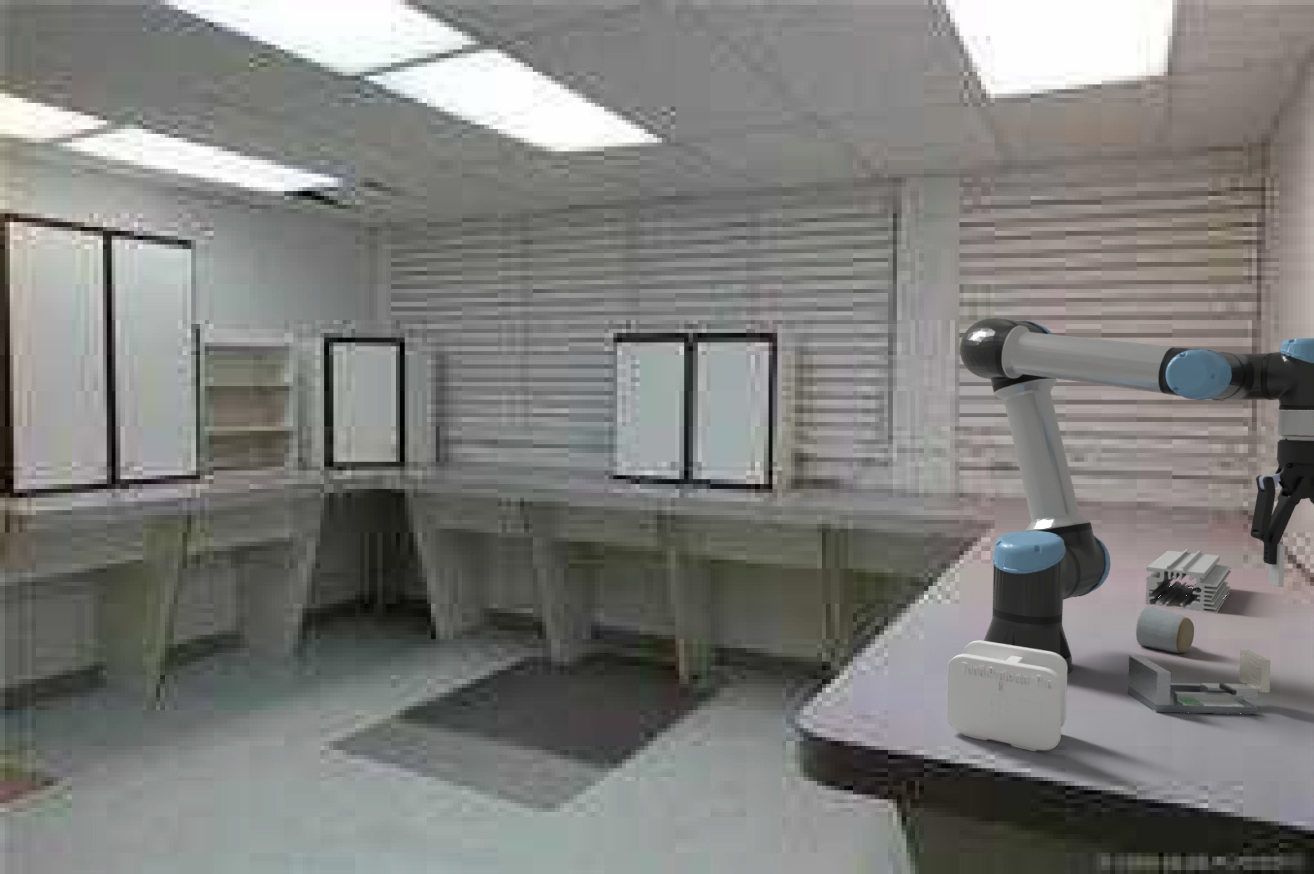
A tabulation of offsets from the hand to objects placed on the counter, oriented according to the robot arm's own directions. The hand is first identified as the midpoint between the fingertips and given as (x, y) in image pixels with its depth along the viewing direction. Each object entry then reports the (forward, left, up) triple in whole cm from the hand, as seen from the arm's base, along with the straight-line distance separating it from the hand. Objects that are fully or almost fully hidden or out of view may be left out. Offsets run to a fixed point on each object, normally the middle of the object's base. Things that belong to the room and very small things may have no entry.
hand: (1301, 585), depth 139 cm
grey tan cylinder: (-3, +33, -19) cm, 38 cm away
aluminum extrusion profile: (+26, +80, -20) cm, 87 cm away
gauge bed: (-16, 0, -19) cm, 25 cm away
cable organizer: (-50, -15, -19) cm, 56 cm away
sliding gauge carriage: (-10, -1, -18) cm, 20 cm away
